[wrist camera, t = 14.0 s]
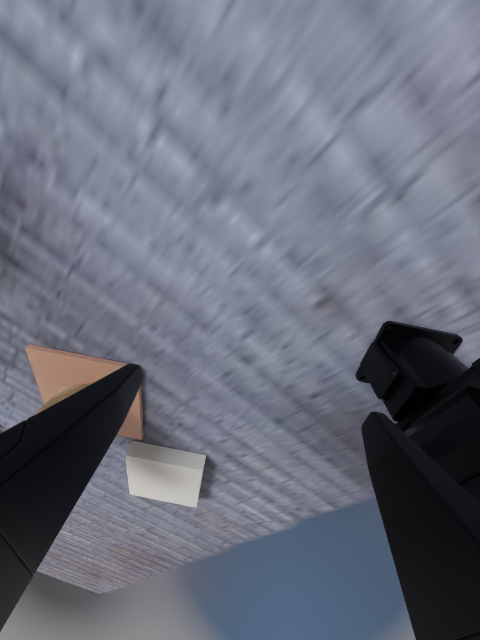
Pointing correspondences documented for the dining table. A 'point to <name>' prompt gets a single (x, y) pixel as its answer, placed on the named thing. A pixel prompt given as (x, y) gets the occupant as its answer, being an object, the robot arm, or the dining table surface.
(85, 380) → the terracotta tile
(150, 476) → the white square tile
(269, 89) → the dining table surface
